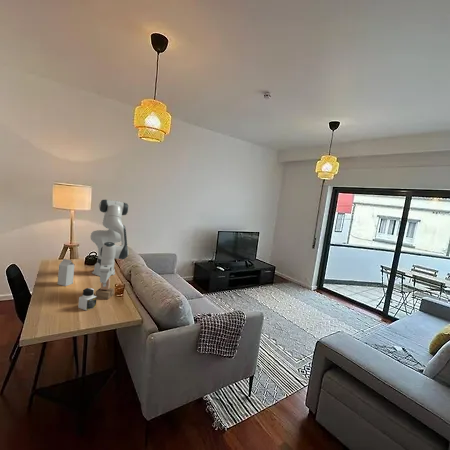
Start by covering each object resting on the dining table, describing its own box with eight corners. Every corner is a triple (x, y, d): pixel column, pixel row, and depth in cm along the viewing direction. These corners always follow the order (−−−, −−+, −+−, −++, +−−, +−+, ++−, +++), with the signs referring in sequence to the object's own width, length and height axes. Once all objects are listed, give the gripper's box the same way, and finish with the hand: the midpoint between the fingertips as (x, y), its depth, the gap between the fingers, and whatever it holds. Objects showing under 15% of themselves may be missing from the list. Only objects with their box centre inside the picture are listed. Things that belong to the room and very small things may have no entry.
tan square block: (100, 293, 187) (101, 286, 186) (113, 295, 187) (114, 288, 186) (94, 298, 178) (95, 291, 177) (108, 299, 178) (108, 292, 177)
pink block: (102, 286, 184) (103, 276, 183) (109, 287, 185) (110, 276, 184) (100, 289, 179) (101, 278, 178) (108, 289, 180) (109, 279, 179)
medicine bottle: (86, 310, 158) (88, 292, 157) (77, 307, 160) (79, 289, 159) (95, 307, 165) (97, 288, 164) (87, 304, 167) (89, 286, 166)
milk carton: (65, 286, 190) (67, 261, 189) (57, 284, 192) (59, 259, 190) (73, 283, 197) (75, 259, 195) (65, 281, 198) (67, 257, 197)
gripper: (106, 261, 190) (104, 279, 191) (98, 269, 170) (96, 289, 171) (115, 262, 191) (113, 280, 192) (109, 270, 171) (107, 290, 173)
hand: (105, 284), depth 182 cm, fingers closed on pink block, 5 cm apart
